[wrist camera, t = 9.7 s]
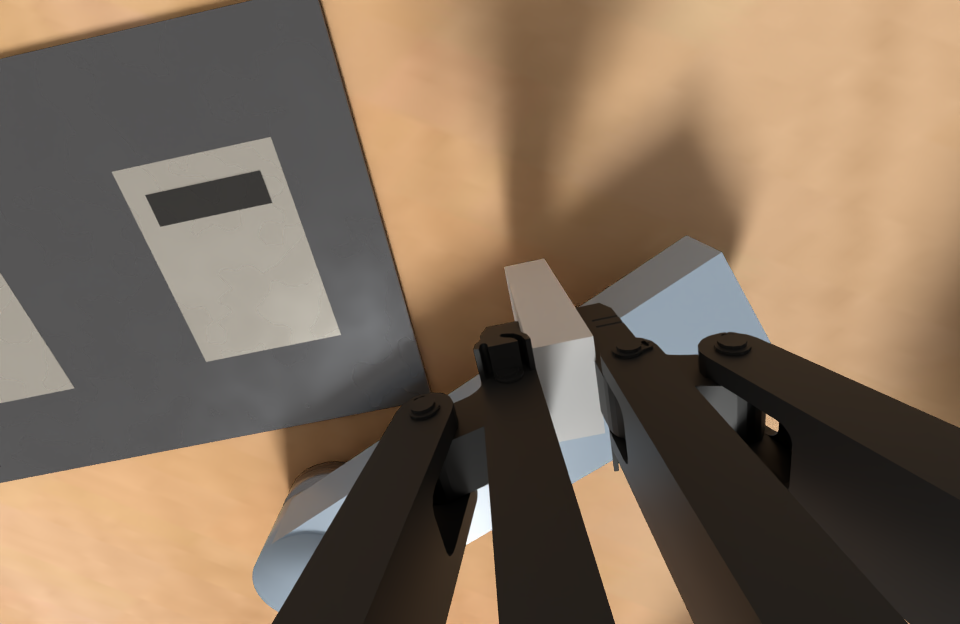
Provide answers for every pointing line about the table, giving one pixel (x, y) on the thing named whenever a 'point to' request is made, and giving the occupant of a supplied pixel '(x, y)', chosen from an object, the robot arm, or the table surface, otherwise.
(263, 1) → the label panel
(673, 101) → the table surface
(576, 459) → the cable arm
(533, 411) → the robot arm
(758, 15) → the table surface
